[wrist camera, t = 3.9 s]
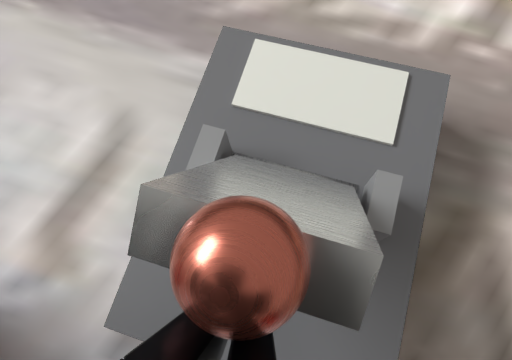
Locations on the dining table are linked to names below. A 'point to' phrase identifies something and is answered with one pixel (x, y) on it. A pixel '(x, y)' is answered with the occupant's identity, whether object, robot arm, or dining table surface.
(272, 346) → the robot arm
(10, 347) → the dining table surface
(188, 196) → the switch lever
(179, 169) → the switch box
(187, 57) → the dining table surface
